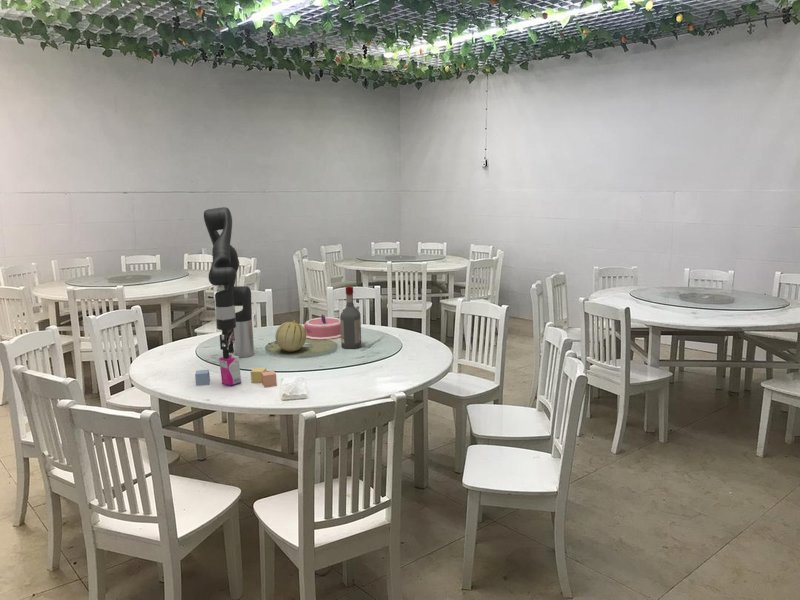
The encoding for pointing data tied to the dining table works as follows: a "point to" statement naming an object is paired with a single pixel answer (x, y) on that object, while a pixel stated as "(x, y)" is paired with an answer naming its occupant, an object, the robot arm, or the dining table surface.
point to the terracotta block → (269, 379)
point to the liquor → (350, 323)
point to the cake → (323, 328)
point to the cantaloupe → (290, 336)
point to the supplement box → (230, 370)
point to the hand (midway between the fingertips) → (228, 355)
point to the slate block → (202, 377)
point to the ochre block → (257, 375)
